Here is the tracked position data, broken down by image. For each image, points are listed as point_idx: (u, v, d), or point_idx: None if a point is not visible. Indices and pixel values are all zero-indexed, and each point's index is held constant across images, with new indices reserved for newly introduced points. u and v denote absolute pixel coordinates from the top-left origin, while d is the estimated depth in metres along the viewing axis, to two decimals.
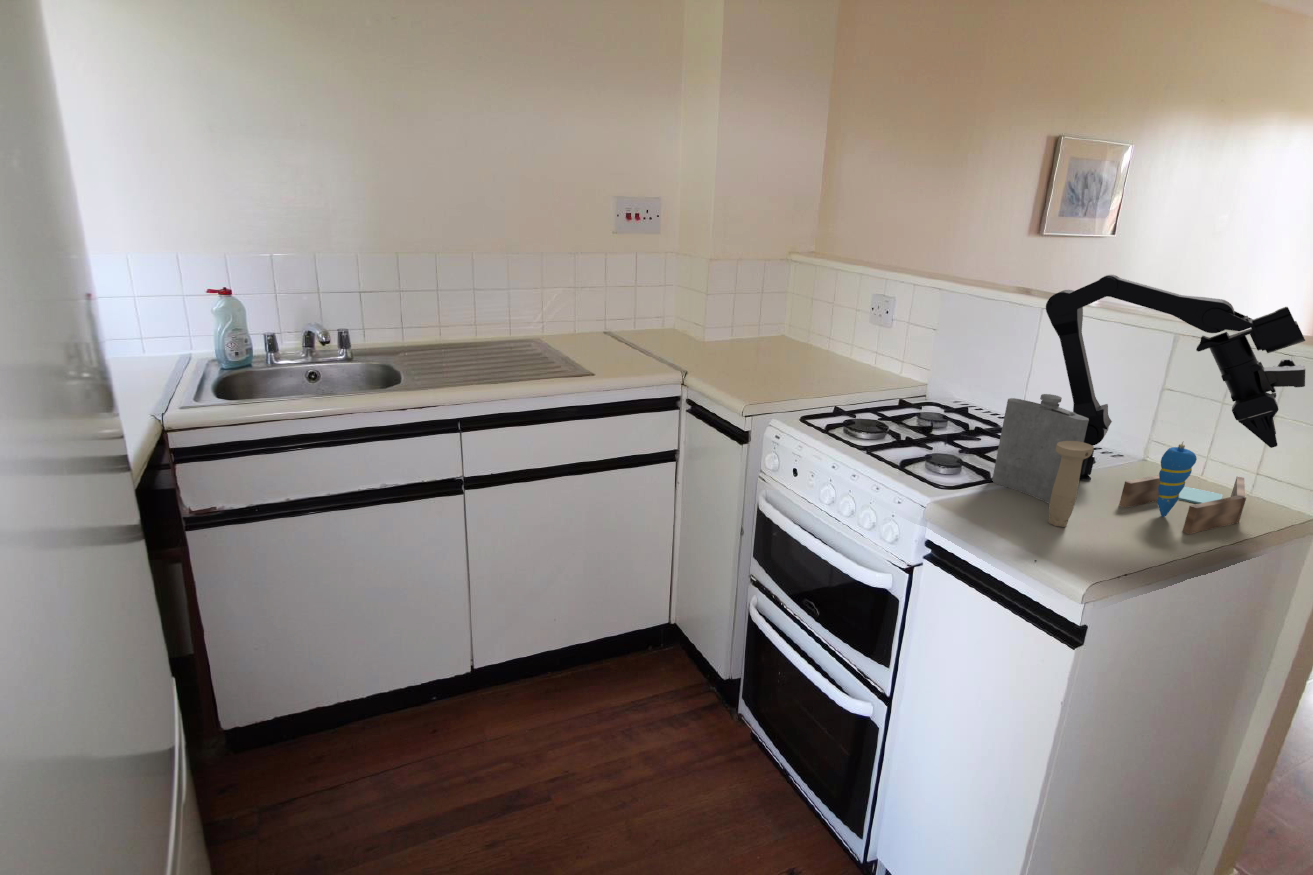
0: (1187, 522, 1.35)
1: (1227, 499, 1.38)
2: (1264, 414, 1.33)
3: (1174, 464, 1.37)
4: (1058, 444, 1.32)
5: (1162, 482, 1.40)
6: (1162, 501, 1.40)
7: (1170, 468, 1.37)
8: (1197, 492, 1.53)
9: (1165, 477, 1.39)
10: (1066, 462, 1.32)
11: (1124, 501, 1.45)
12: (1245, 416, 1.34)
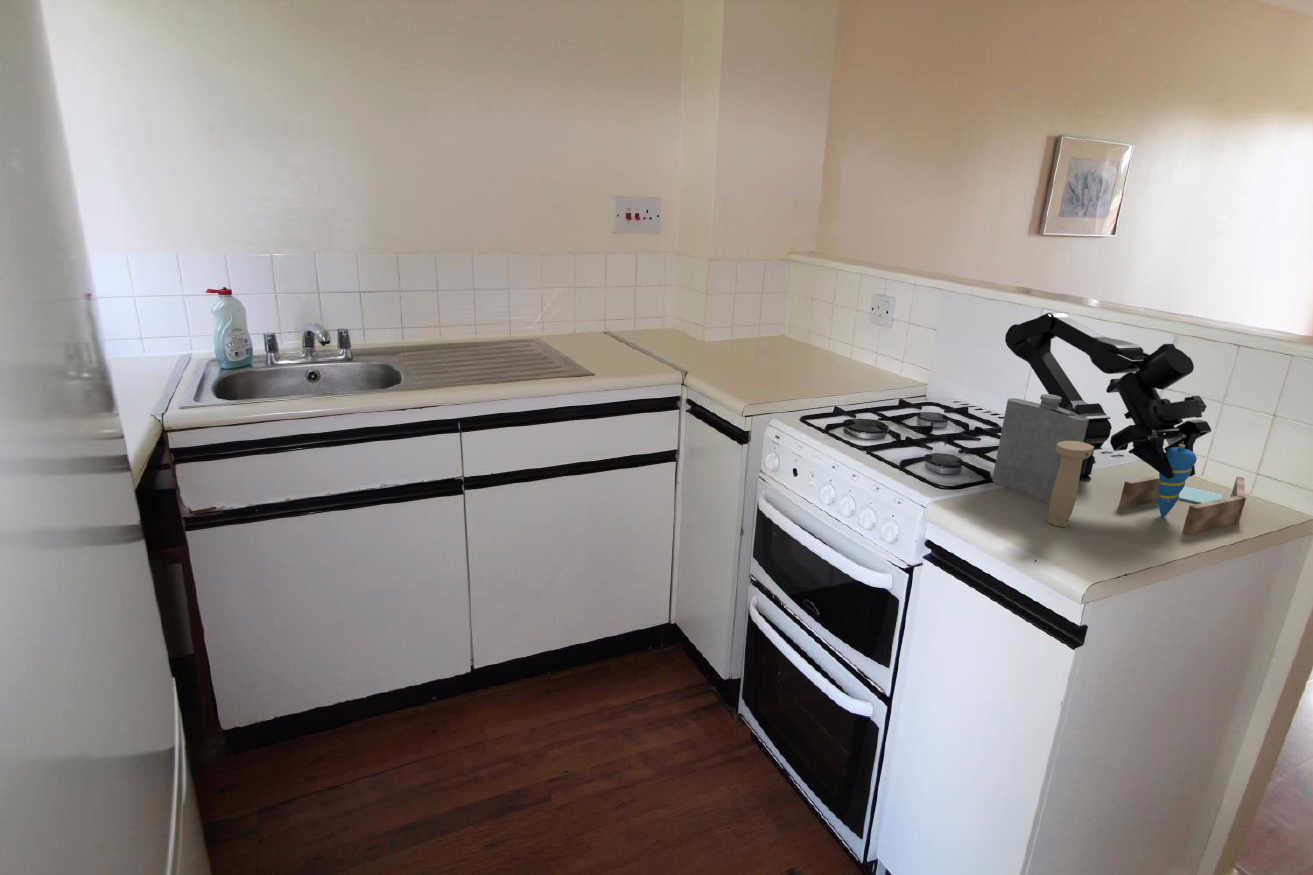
0: (1187, 522, 1.35)
1: (1227, 499, 1.38)
2: (1143, 443, 1.38)
3: (1174, 464, 1.37)
4: (1058, 444, 1.32)
5: (1162, 482, 1.40)
6: (1162, 501, 1.40)
7: None
8: (1197, 492, 1.53)
9: (1165, 477, 1.39)
10: (1066, 462, 1.32)
11: (1124, 501, 1.45)
12: (1117, 446, 1.39)
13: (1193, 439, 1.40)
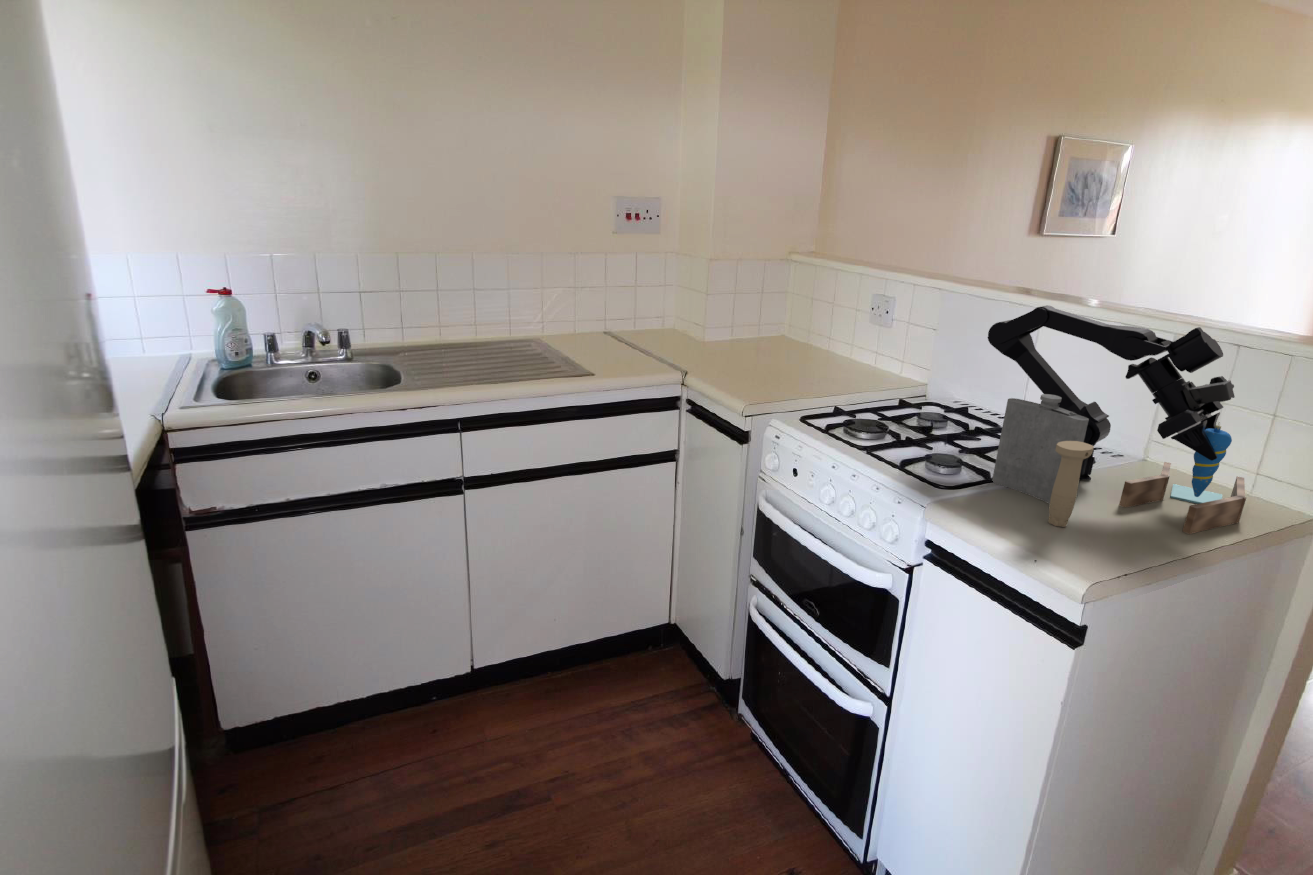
0: (1187, 522, 1.35)
1: (1227, 499, 1.38)
2: (1191, 428, 1.39)
3: (1217, 445, 1.39)
4: (1058, 444, 1.32)
5: (1200, 464, 1.42)
6: (1200, 482, 1.43)
7: None
8: None
9: (1205, 459, 1.41)
10: (1066, 462, 1.32)
11: (1124, 501, 1.45)
12: (1169, 434, 1.38)
13: (1217, 418, 1.44)
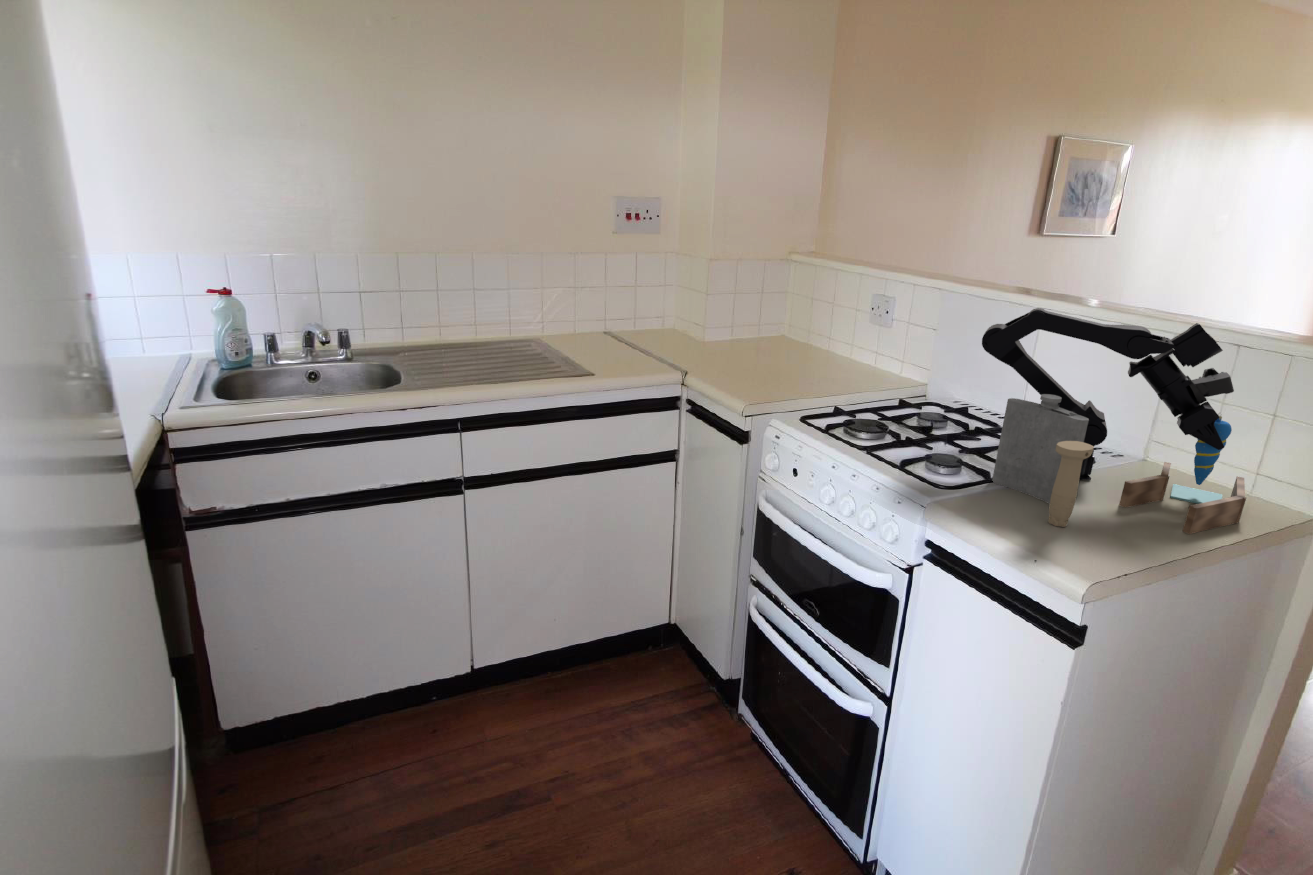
0: (1187, 522, 1.35)
1: (1227, 499, 1.38)
2: None
3: (1223, 435, 1.45)
4: (1058, 444, 1.32)
5: (1206, 454, 1.48)
6: (1205, 471, 1.49)
7: None
8: (1197, 492, 1.53)
9: (1212, 448, 1.47)
10: (1066, 462, 1.32)
11: (1124, 501, 1.45)
12: (1193, 430, 1.41)
13: None
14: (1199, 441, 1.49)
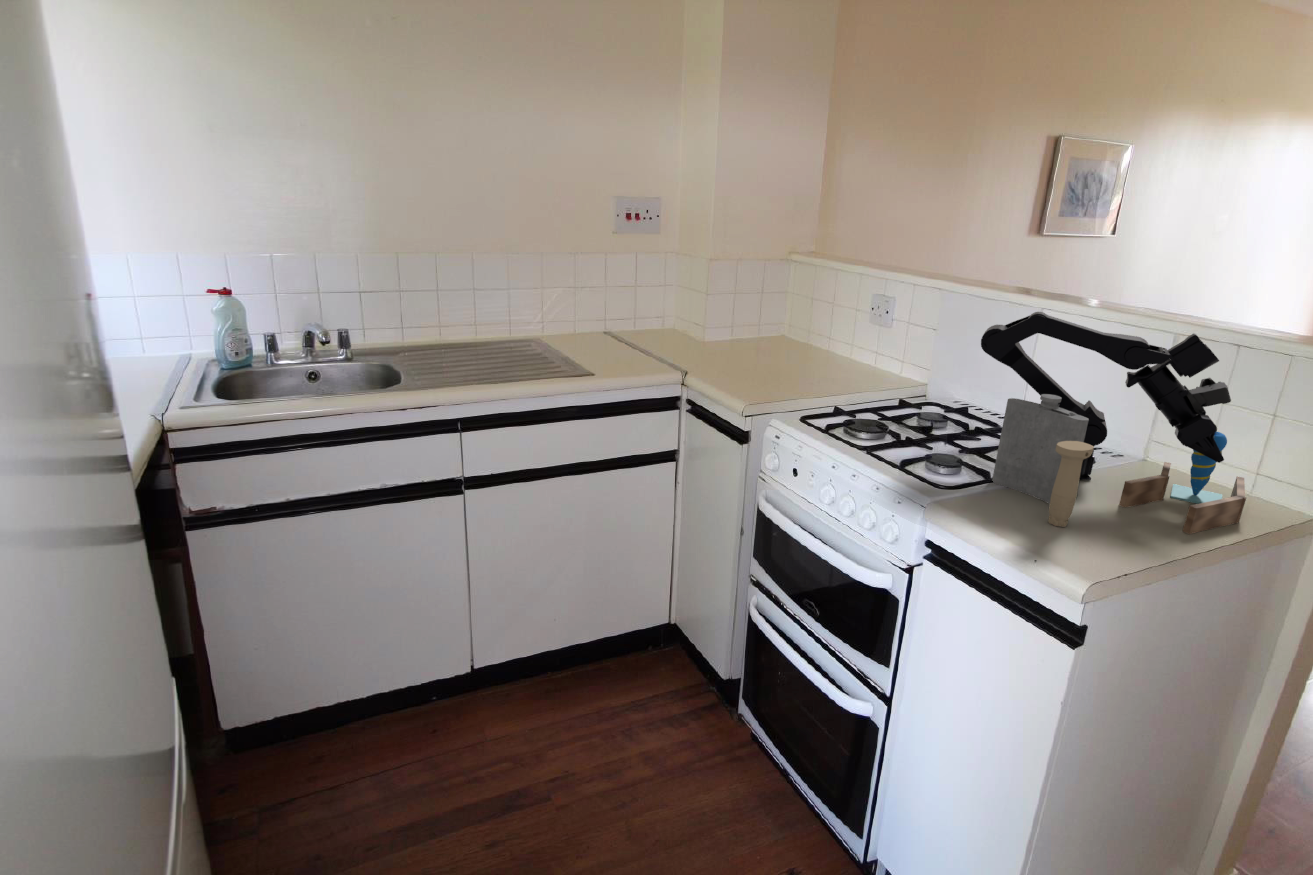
0: (1187, 522, 1.35)
1: (1227, 499, 1.38)
2: (1206, 435, 1.42)
3: (1219, 448, 1.46)
4: (1058, 444, 1.32)
5: (1202, 465, 1.48)
6: (1201, 482, 1.49)
7: None
8: None
9: (1208, 460, 1.47)
10: (1066, 462, 1.32)
11: (1124, 501, 1.45)
12: (1190, 440, 1.42)
13: None
14: (1195, 453, 1.49)
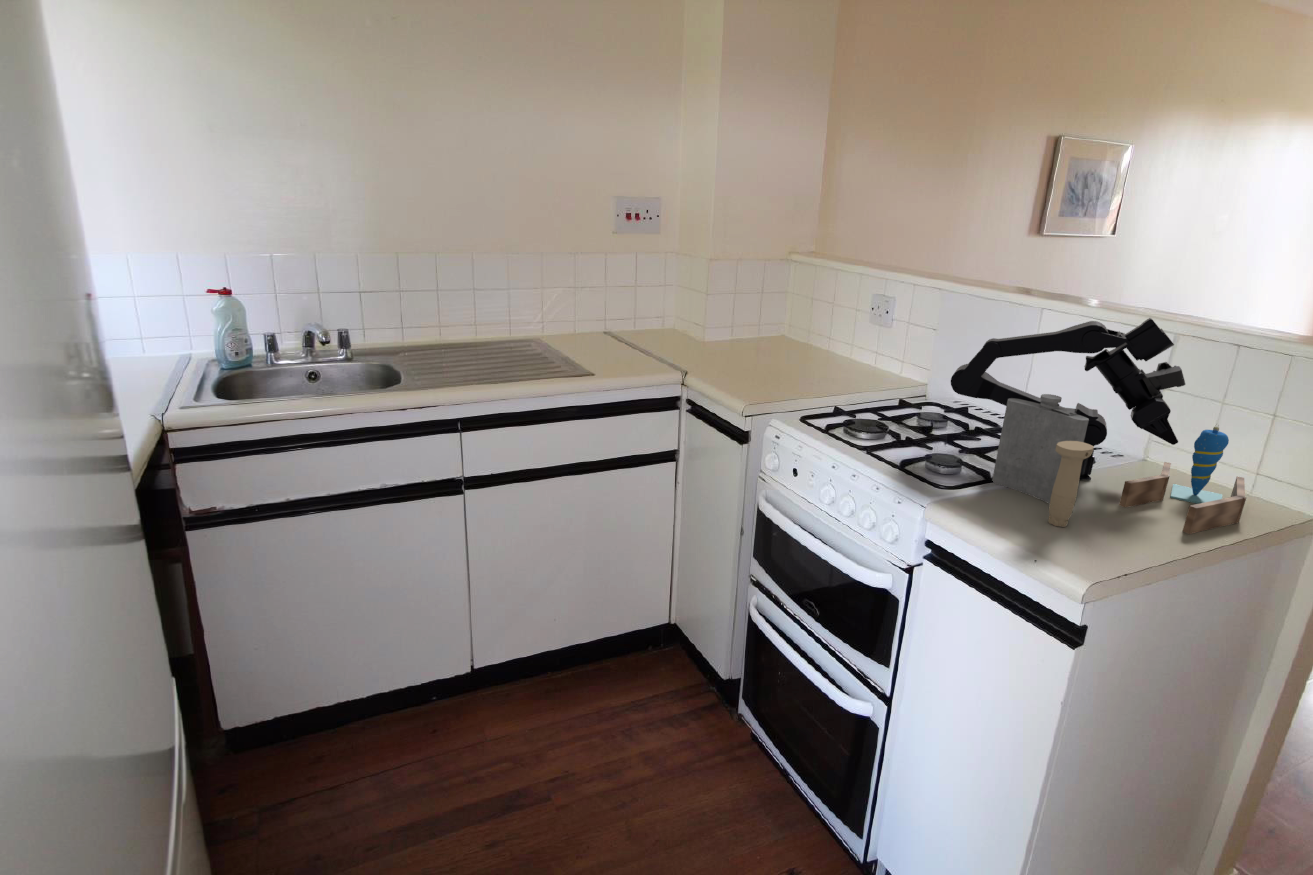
0: (1187, 522, 1.35)
1: (1227, 499, 1.38)
2: (1160, 417, 1.44)
3: (1220, 446, 1.46)
4: (1058, 444, 1.32)
5: (1203, 464, 1.49)
6: (1202, 481, 1.50)
7: (1215, 451, 1.47)
8: None
9: (1209, 459, 1.47)
10: (1066, 462, 1.32)
11: (1124, 501, 1.45)
12: (1144, 422, 1.45)
13: None
14: (1196, 452, 1.49)
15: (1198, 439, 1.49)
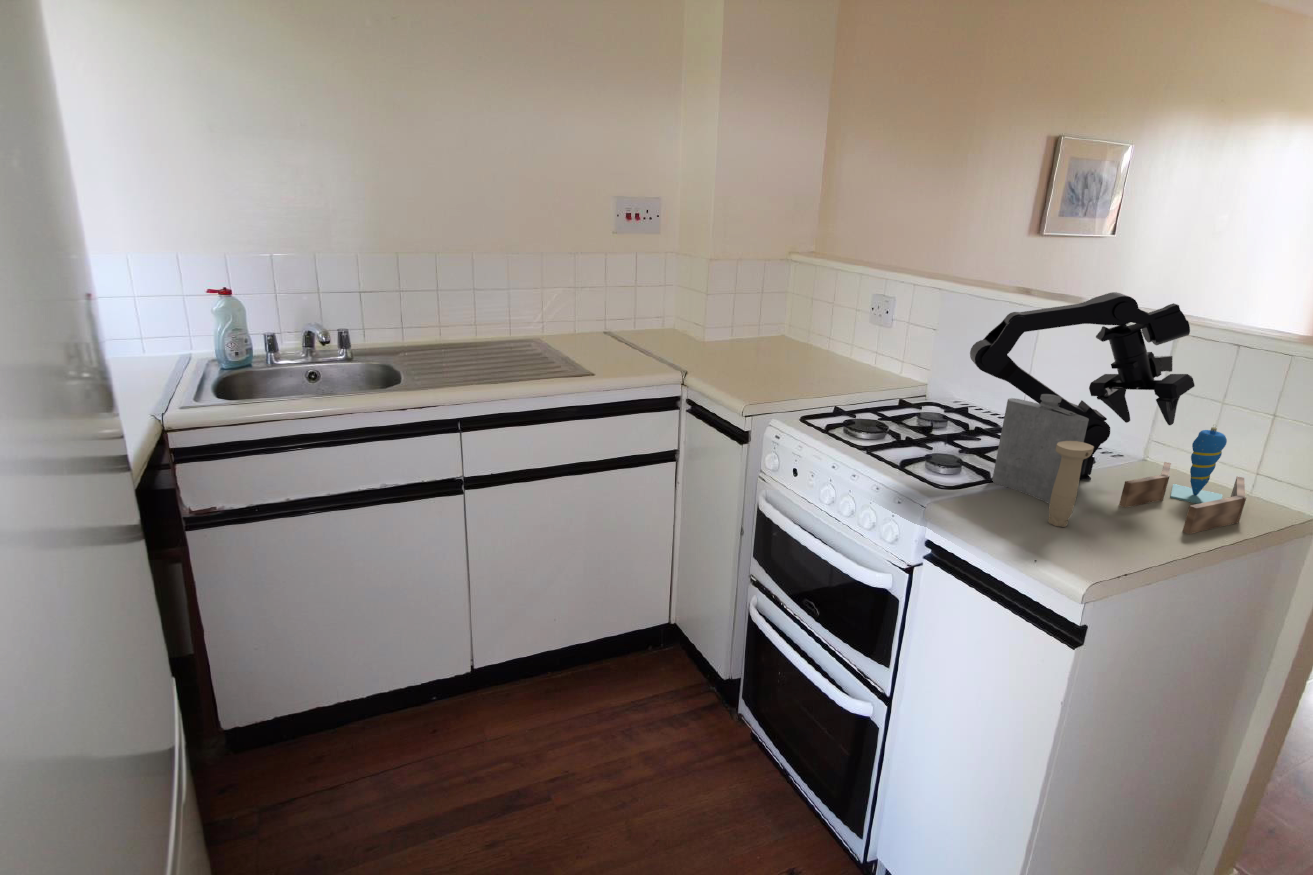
0: (1187, 522, 1.35)
1: (1227, 499, 1.38)
2: None
3: (1218, 447, 1.46)
4: (1058, 444, 1.32)
5: (1201, 465, 1.48)
6: (1201, 482, 1.49)
7: (1213, 452, 1.46)
8: None
9: (1207, 460, 1.47)
10: (1066, 462, 1.32)
11: (1124, 501, 1.45)
12: (1180, 393, 1.45)
13: None
14: (1194, 453, 1.49)
15: (1196, 440, 1.48)
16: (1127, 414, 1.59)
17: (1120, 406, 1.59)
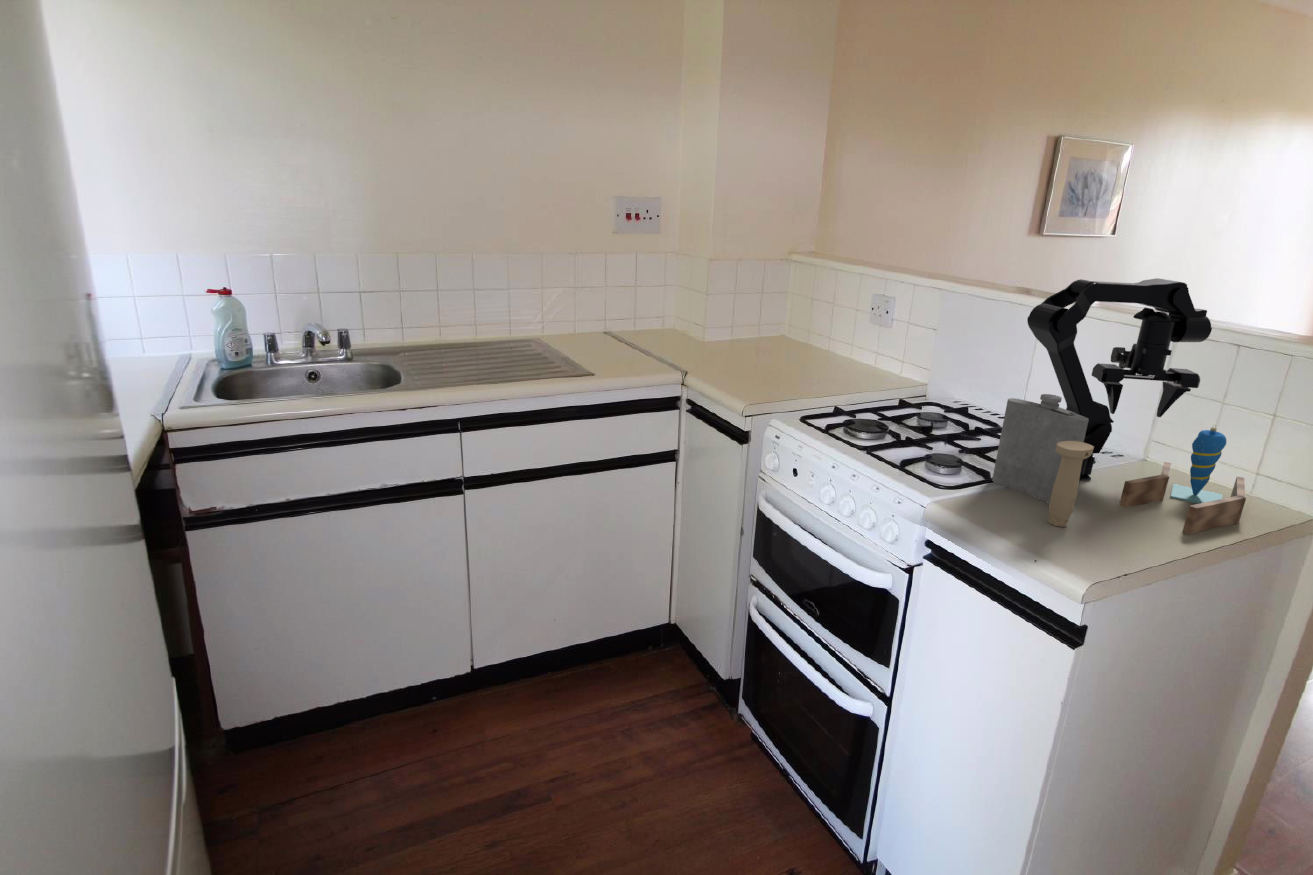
0: (1187, 522, 1.35)
1: (1227, 499, 1.38)
2: None
3: (1218, 448, 1.46)
4: (1058, 444, 1.32)
5: (1201, 465, 1.48)
6: (1201, 482, 1.49)
7: (1213, 452, 1.46)
8: None
9: (1207, 461, 1.47)
10: (1066, 462, 1.32)
11: (1124, 501, 1.45)
12: None
13: None
14: (1194, 453, 1.49)
15: (1196, 440, 1.48)
16: None
17: None
